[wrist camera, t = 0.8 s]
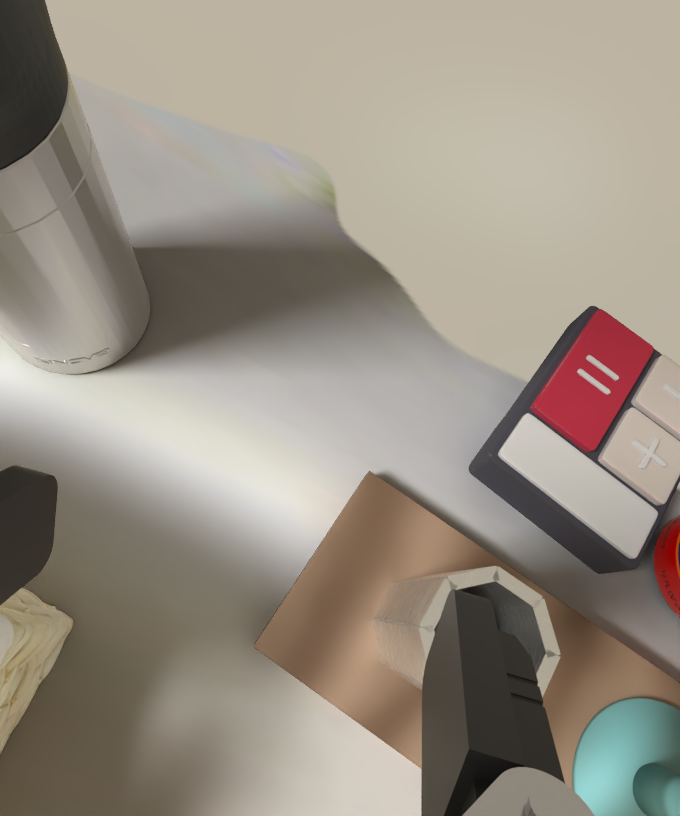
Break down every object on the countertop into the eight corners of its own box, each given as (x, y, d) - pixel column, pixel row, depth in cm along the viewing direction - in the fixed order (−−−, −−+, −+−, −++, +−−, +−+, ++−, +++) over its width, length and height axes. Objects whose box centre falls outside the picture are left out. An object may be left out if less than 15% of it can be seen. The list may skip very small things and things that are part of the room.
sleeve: (365, 588, 32) (408, 584, 23) (455, 569, 33) (532, 557, 24) (386, 693, 31) (443, 735, 21) (480, 669, 32) (573, 699, 22)
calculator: (731, 393, 38) (644, 571, 32) (685, 415, 42) (599, 577, 36) (598, 296, 39) (491, 452, 33) (565, 326, 43) (464, 470, 37)
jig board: (253, 644, 32) (251, 660, 24) (365, 475, 36) (395, 440, 28) (711, 976, 30) (877, 1114, 22) (775, 756, 34) (933, 804, 26)
